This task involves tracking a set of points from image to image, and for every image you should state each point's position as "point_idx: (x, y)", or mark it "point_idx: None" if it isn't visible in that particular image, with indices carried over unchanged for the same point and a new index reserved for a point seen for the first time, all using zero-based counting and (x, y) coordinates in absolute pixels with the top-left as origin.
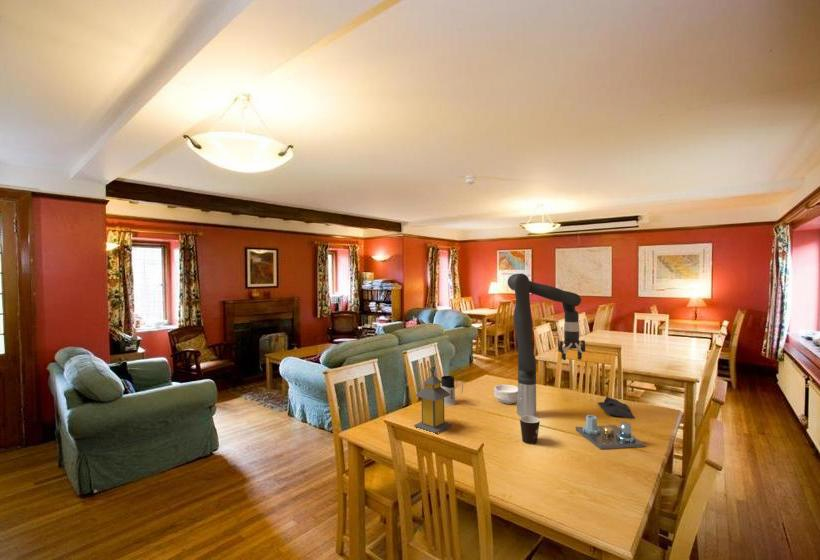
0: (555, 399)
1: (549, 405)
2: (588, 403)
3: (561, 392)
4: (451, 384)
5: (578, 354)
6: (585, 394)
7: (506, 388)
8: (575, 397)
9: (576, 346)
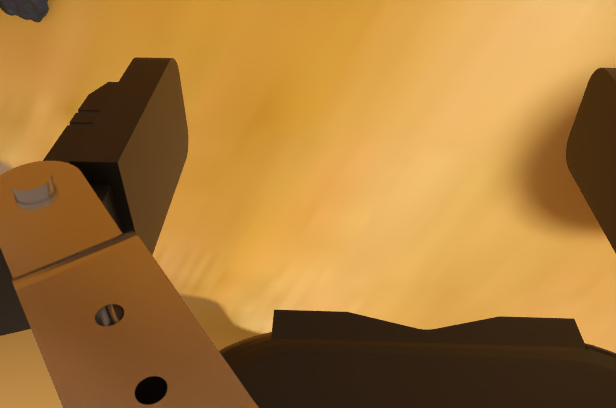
0: (333, 142)
1: (454, 34)
2: (122, 30)
3: (225, 246)
4: None
5: (151, 186)
6: None
7: None
8: None
9: (228, 386)
